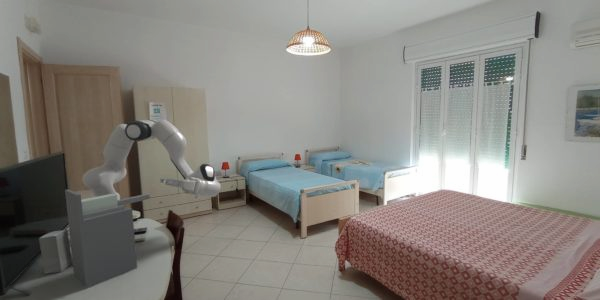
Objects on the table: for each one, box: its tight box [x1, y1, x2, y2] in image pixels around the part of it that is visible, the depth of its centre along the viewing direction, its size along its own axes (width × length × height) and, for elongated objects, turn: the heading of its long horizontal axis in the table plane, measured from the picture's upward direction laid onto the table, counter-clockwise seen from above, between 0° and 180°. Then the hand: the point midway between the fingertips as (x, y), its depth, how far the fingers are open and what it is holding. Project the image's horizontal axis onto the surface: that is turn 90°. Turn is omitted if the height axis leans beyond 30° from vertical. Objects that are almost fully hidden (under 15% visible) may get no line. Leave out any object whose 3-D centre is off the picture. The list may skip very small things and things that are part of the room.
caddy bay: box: [64, 189, 138, 289], centre depth 115 cm, size 14×18×36 cm
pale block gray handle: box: [81, 193, 151, 214], centre depth 119 cm, size 4×26×6 cm, turn 143°
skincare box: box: [38, 229, 73, 275], centre depth 120 cm, size 8×7×16 cm
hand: (163, 181), depth 135 cm, fingers open, 8 cm apart
